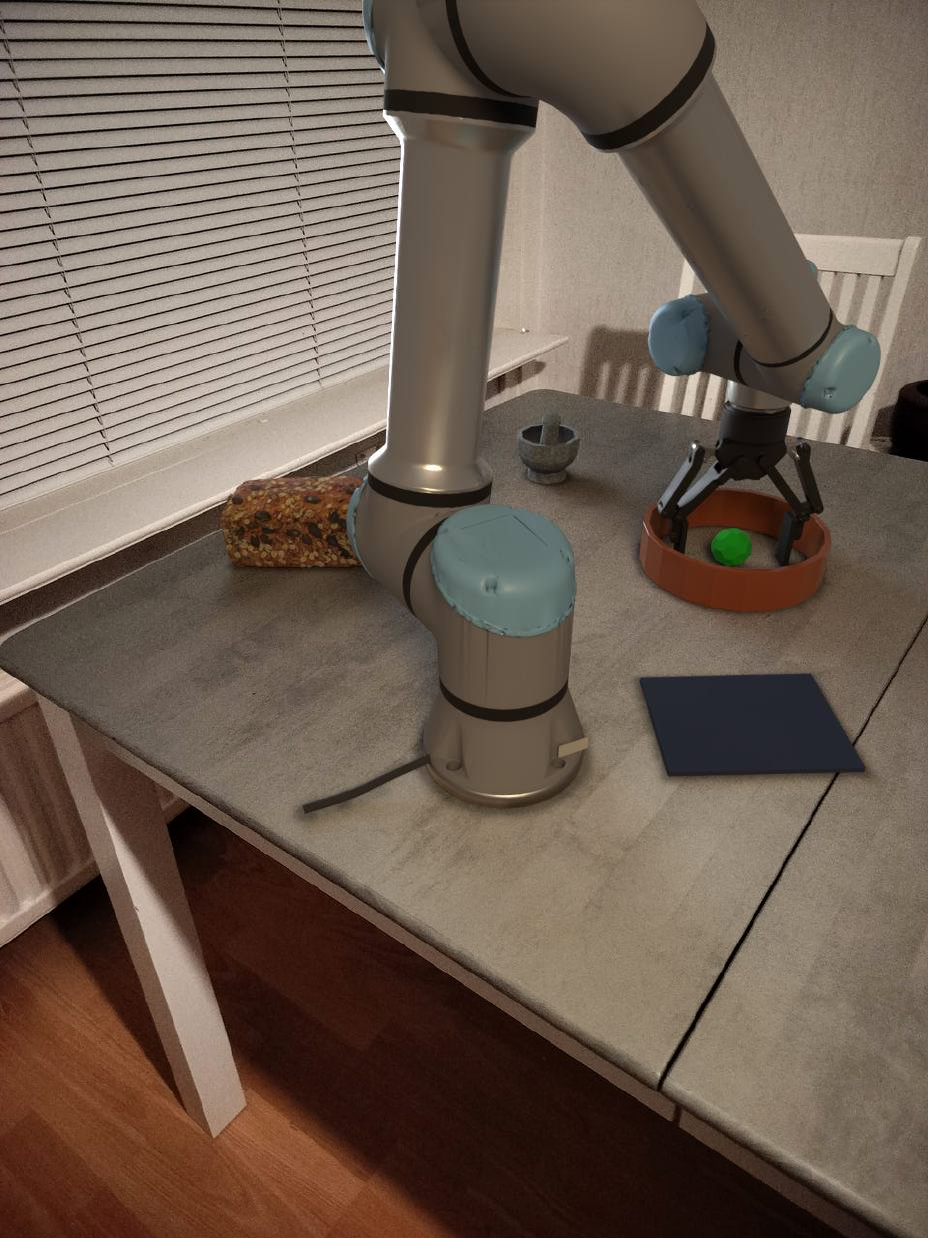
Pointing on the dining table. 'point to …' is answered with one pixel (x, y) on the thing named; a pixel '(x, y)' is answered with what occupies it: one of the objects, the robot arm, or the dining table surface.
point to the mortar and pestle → (548, 448)
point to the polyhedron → (731, 547)
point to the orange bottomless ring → (729, 583)
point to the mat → (747, 726)
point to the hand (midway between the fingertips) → (729, 562)
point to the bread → (290, 522)
